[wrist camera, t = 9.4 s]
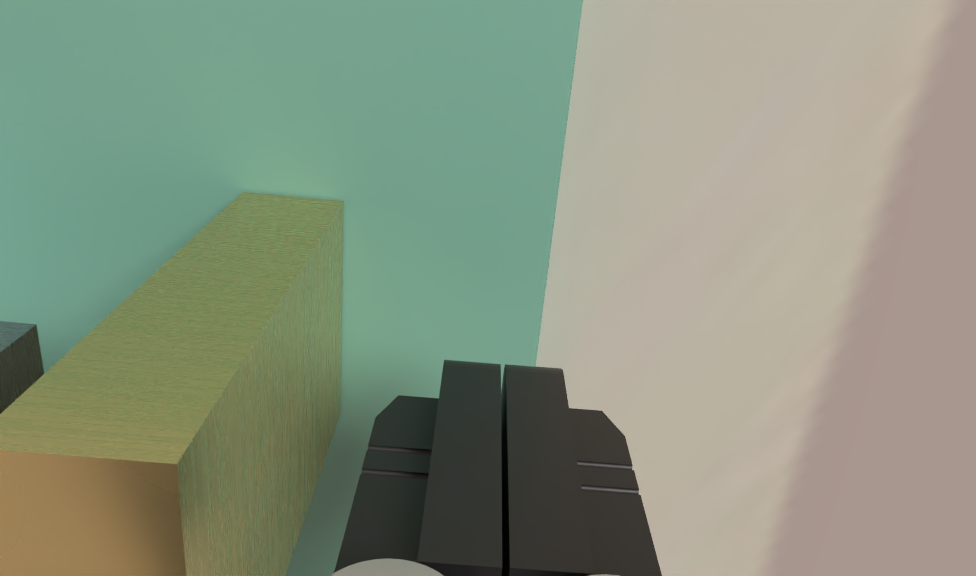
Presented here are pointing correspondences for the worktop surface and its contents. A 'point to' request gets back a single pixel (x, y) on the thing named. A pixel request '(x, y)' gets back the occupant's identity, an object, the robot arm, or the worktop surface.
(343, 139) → the pcb board
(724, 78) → the worktop surface
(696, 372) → the worktop surface
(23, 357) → the strap
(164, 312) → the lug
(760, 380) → the worktop surface
